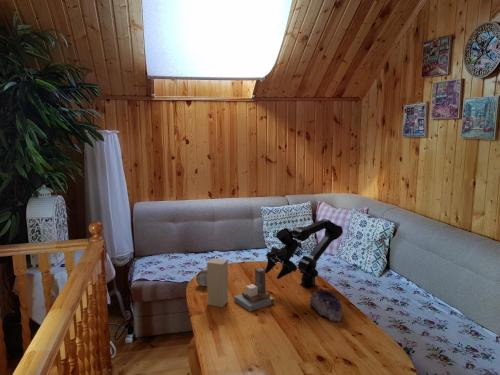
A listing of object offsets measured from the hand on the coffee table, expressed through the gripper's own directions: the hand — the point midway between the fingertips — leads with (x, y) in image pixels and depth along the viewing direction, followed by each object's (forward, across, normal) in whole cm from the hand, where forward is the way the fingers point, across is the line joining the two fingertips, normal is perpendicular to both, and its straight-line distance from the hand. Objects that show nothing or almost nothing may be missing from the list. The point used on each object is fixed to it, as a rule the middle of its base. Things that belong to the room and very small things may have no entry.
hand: (271, 275), depth 199 cm
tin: (+21, -29, -5) cm, 36 cm away
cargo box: (+13, 0, -4) cm, 13 cm away
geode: (0, +27, +16) cm, 32 cm away
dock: (+15, 0, 0) cm, 15 cm away
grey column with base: (+12, 0, -1) cm, 13 cm away
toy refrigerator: (+25, -9, -10) cm, 29 cm away
